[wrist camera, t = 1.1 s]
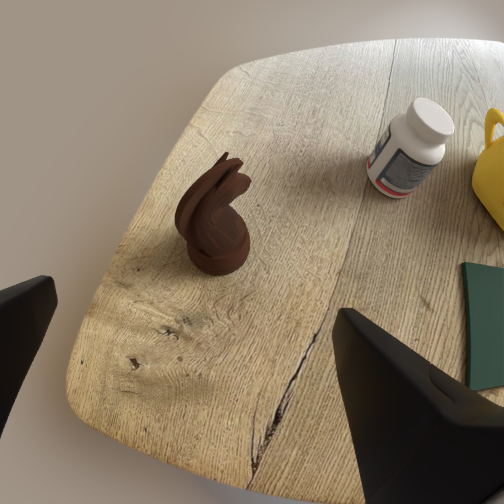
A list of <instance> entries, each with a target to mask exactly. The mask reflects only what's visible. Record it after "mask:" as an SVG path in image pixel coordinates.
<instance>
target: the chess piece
mask: <svg viewBox="0 0 504 504" xmlns="http://www.w3.org/2000/svg"><path fill="white" fill-rule="evenodd" d="M228 154H229V153H228V152H225V153H224V154H223V155H222V156H221V158H220V159H219V160H218V161H217V162H216V163H215V164H214V166H213V167H212V168H211V169H209V170H208V171H207V172H206V173H204V174H203V175H202V176H201V177H200V178H199V179H197V180H196V181H195V182H194V183H193V184H192V186H191V187H190V188H189V189H188V190H187V191H186V193H185V194H184V195H183V197H182V198H181V200H180V202H179V204H178V206H177V209H176V213H175V226H176V228H177V230H178V231H179V233H180V234H181V235H182V236H183V238H184V239H185V240H186V241H187V249H188V253H189V256H190V258H191V260H192V262H193V263H194V264H195V265H196V267H198V268H199V269H200V270H202V271H203V272H205V273H208V274H212V275H226V274H229V273H232V272H234V271H236V270H237V269H239V268H240V267H241V266H242V265H243V263H244V262H245V261H246V259H247V257H248V254H249V250H250V236H249V232H248V229H247V228H246V224H245V222H244V221H243V219H242V218H241V216H240V215H239V214H238V213H237V212H236V211H235V210H234V209H233V208H232V207H231V206H229V204H230V203H231V202H232V201H233V200H234V199H235V198H237V197H238V196H240V195H241V194H243V193H244V192H245V191H247V190H248V189H247V188H249V186H250V183H251V179H250V177H249V176H247V175H245V174H241V173H238V170H239V169H240V168H241V166H242V165H243V162H242V161H241V160H240V159H239V158H232V159H229V160H226V158H227V156H228Z"/></svg>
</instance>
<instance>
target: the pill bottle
mask: <svg viewBox="0 0 504 504" xmlns="http://www.w3.org/2000/svg"><path fill="white" fill-rule="evenodd" d="M453 132H454V124H453V121H452V119H451V118H450V116H449V115H448V113H447V112H446V111H445V110H444V109H443V108H442V107H441V106H439V105H438V104H437V103H435V102H433V101H431V100H429V99H427V98H421V97H420V98H416V99H414V100H413V102H412V103H411V105H410V106H409V107H408V109H407V112H406V113H401V114H399V115H397V116H396V117H395V118H394V119H393V120H392V121H391V123H390V124H389V126H388V128H387V129H386V131H385V132H384V134H383V136H382V137H381V139H380V140H379V142H378V144H377V145H376V147H375V149H374V150H373V152H372V154H371V155H370V157H369V159H368V161H367V165H366V168H367V173H368V176H369V178H370V180H371V182H372V183H373V185H374V186H375V187H376V188H377V189H378V190H379V191H380V192H382V193H383V194H385V195H387V196H389V197H392V198H404V197H407V196H408V195H410V194H411V193H412V192H413V191H414V190H415V189H416V187H417V186H418V185H419V184H420V183H421V182H422V181H423V180H424V179H425V178H426V176H427V175H428V174H429V173H430V172H431V171H432V170H433V169H434V168H435V166H436V165H437V164H438V163H439V162H440V161H441V159H442V158H443V156H444V153H445V145H444V144H445V143H446V141H447V140H448V139H449V138H450V136H451V135H452V134H453Z"/></svg>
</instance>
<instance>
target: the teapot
mask: <svg viewBox="0 0 504 504" xmlns="http://www.w3.org/2000/svg"><path fill="white" fill-rule="evenodd" d="M498 122H499V123H501V124H502V125H503V126H504V115H503V114H502V113H501V112H500V111H499V110H497V109H495V108H491V109H489V111H488V112H487V115H486V118H485V149H484V150H483V151H482V153H481V154H480V156H479V158H478V160H477V163H476V166H475V169H474V173H473V178H472V187H473V190H474V192H475V193H476V195H477V196H478V198H479V199H480V201H481V202H482V203H483V205H484V206H485V208H486V209H487V210H488V212H489V213H490V214H491V216H492V217H493V218H494V219H495V221H496V222H497V223H498V225H499V226H500V227H501V228H502V230H503V231H504V135H503V136H502V137H500V138H498V139H497V140H495V141H494V142H492V138H493V132H494V128H495V125H496V124H497V123H498Z"/></svg>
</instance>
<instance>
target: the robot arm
mask: <svg viewBox="0 0 504 504" xmlns="http://www.w3.org/2000/svg"><path fill="white" fill-rule="evenodd" d="M57 301H58V300H57V294H56V289H55V284H54V280H53V278H52V277H50V276H44V275H41V276H38V277H35V278H32V279H30V280H27V281H24V282H22V283H19V284H16V285H14V286H11V287H8V288H6V289H3V290H1V291H0V438H1V435H2V432H3V429H4V427H5V424H6V422H7V419H8V416H9V413H10V411H11V409H12V406H13V404H14V402H15V399H16V397H17V395H18V392H19V390H20V388H21V386H22V383H23V381H24V379H25V377H26V375H27V372H28V370H29V368H30V366H31V364H32V362H33V360H34V358H35V356H36V354H37V351H38V350H39V348H40V346H41V343H42V341H43V339H44V336H45V333H46V331H47V329H48V326H49V324H50V321H51V319H52V317H53V314H54V312H55V309H56V307H57V303H58V302H57ZM332 340H333V347H334V355H335V363H336V371H337V377H338V382H339V386H340V390H341V394H342V398H343V402H344V406H345V410H346V415H347V419H348V423H349V427H350V432H351V436H352V440H353V445H354V449H355V454H356V458H357V463H358V468H359V472H360V477H361V482H362V487H363V492H364V497H365V500H366V501H365V503H366V504H504V407H502V406H499V405H497V404H495V403H493V402H491V401H490V400H488V399H486V398H485V397H483V396H481V395H480V394H478V393H476V392H475V391H473V390H471V389H470V388H468V387H466V386H465V385H463V384H462V383H460V382H458V381H457V380H455V379H454V378H452V377H451V376H449V375H448V374H446V373H445V372H443V371H442V370H440V369H439V368H437V367H436V366H435V365H433V364H430V362H429V361H427V360H426V359H425V358H423V357H422V356H420V355H419V354H418V353H416V352H415V351H413V350H412V349H410V348H409V347H408V346H406V345H405V344H403V343H402V342H401V341H399V340H398V339H396V338H395V337H393V336H392V335H391V334H389V333H388V332H386V331H385V330H383V329H382V328H381V327H379V326H378V325H376V324H375V323H373V322H372V321H371V320H369V319H368V318H366V317H365V316H363V315H362V314H361V313H359V312H358V311H356V310H355V309H353V308H340V309H339V311H338V313H337V317H336V320H335V323H334V327H333V330H332Z"/></svg>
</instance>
